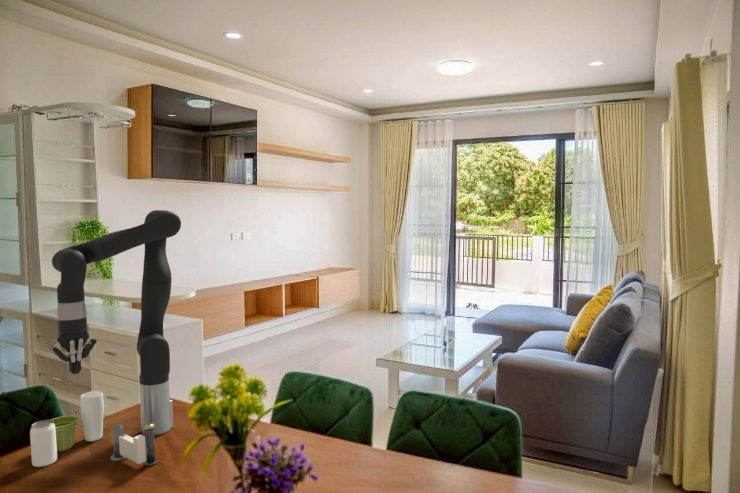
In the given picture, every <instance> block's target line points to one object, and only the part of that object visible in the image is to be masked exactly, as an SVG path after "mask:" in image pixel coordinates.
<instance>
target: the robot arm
mask: <svg viewBox="0 0 740 493" xmlns="http://www.w3.org/2000/svg"><path fill="white" fill-rule="evenodd" d="M181 227H182V220H181V218H180V217H179V215H178V214H177V213H175V212H173V211H171V210H162V209H155V210H151V211H150V212H148V213H147V215H145V219H144V221H143V223H142V224H139V225H136V226H133V227H130V228H125V229H121V230H116V231H113V232H110V233H107V234H104V235H101V236H98V237H96V238H94V239H91V240H89V241H86V242H83V243H80V244H76V245H75V244H74V245H72V246H69V247H66V248H63V249H60V250H58V251H57V252H56V253H55V254H53V256H52V259H51V264H52V266H53V269H54V270H56V271H57V272H60V282H59V284H58V285H57V287H56V294H57V295H56V296H57V306H56V314H57V316H56V317H57V332H58V336H57V340H56V341H57V342H56V343H55V344H54V345H53V346H52V345H51V346H50V347H49V351H51V352H52V353H53V354H54V355H55V356H56V357H58V359H60V360H61V361H63V362H66V363H68V371H69V373H71V374H72V375H78V374H80V372H81V371H82V360H83V359H85V358H87V357H88V356H89V355H90V353H91V351H92V350H93V348H94V346H95V345H96V344H97V341H98V340H97V339H95V338H92V337H90V335H89V333H88V318H87V314H88V312H87V305H86V300H85V287H84V286H85V281H86V276H87V266H88V264H91V263H92V264H93V263H99V262H103V261H105V260H107V259H111V258H113V257H115V256H117V255H119V254H122V253H124V252H126V251H129V250H132V249H134V248H137V247H139V246H142V245H144V255H143V256H144V257H143V268H142V269H143V270H142V272H143V273H142V279H141V280H142V281H141V293H140V294H141V300H140V302H141V303H140V314H141V315H140V316H141V318H140V326H139V331H138V337H137V341H136V351H137V353H138V354H137V355H139V360H140V361H139V362H140V374H139V375H138V376H139V378H138V379H139V381H138V382H139V400H140V418H141V419H140V422H141V423H140V424H141V425H140V426H141V435H143V436H145V429H144V425H145V424H148V423H154V424H155V427H154V436H158V435H159V436H160V435H162V434H165V433H167V432H169V431H170V430H171V429H172V428H174V413H173V412H174V411H173V410H174V408H173V406H174V404H173V400H172V399H170V398H171V397H170V376H169V375H170V371H171V358H170V357H171V352H170V345H169V343H168V341H167V340H166V339H165V337H164V320H165V319H164V318H165V314H166V311H167V308H168V305H169V302H170V298H171V293H172V292H171V291H172V279H173V278H172V272H171V268H170V264H169V261H168V257H167V250H166V248H167V247H166V246H167V239H169V238H172V237H174V236H176V235H177V234H178V233H179V232H180V230H181ZM62 349H63V350H64V351H65V353H66V355H65V354H64V353H63V351H61V350H62Z"/></svg>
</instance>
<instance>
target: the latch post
mask: <svg viewBox="0 0 740 493" xmlns="http://www.w3.org/2000/svg"><path fill="white" fill-rule="evenodd" d="M154 427H155V424H154V423H148V424H145V425H144V429H145V435H144V436H145V451H146V461H145V462H143V463H144V466H145V467H154V466H156V465H157V464H158V462H159V461H158V460H159V459H157V458H156V447H155V446H156V445H155V435H154Z"/></svg>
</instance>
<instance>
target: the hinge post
mask: <svg viewBox="0 0 740 493" xmlns="http://www.w3.org/2000/svg"><path fill="white" fill-rule="evenodd" d="M124 427H125V425H124V423H117V424H113V426H112V438H113V454H112V455H111V456H110V461H111V462H113V463H115V462H122V461H125V460H126V459H128V458H126V457H124V456H122V455H120V450H119V436H122V435H124V434H125V428H124Z"/></svg>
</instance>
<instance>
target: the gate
mask: <svg viewBox="0 0 740 493" xmlns="http://www.w3.org/2000/svg"><path fill="white" fill-rule="evenodd" d="M119 450H120V455H122V456H124V457H126V458H127V459H128V460H130V461H133V462H134V463H135V464H137V465H140V464H142V463H144V462H145V461H146V438H145V435H144V434H138V435H136V436H134V437H132V436H130V435H128V434H125V433H124V435H122V436H119Z"/></svg>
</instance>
